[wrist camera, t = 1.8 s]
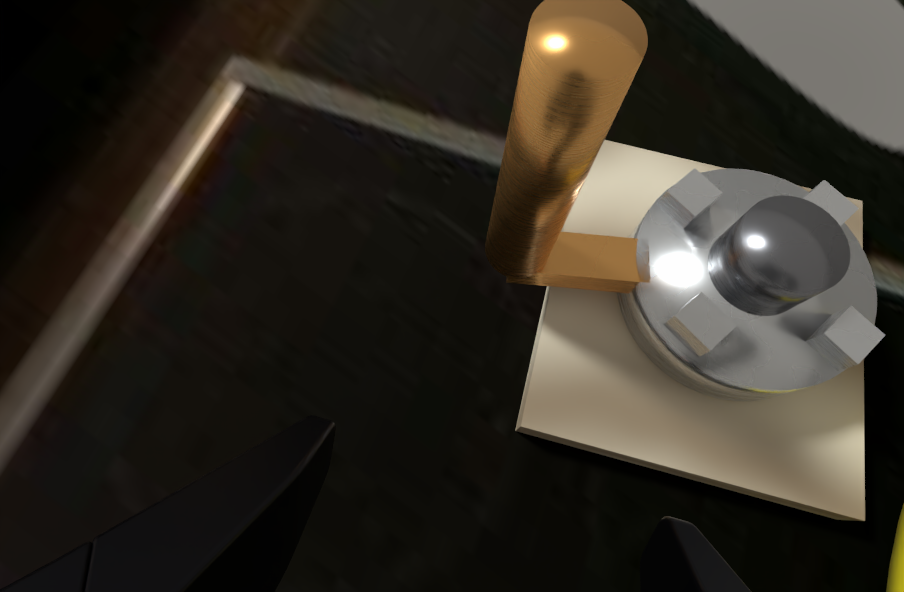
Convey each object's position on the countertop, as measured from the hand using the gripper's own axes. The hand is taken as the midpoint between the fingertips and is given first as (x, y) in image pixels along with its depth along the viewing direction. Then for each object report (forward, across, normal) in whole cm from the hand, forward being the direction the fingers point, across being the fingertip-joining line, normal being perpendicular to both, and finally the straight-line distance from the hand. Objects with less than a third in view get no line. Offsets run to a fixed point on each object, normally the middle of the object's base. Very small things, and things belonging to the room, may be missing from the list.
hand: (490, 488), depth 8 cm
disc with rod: (+15, -6, +1) cm, 17 cm away
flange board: (+16, -8, +2) cm, 19 cm away
